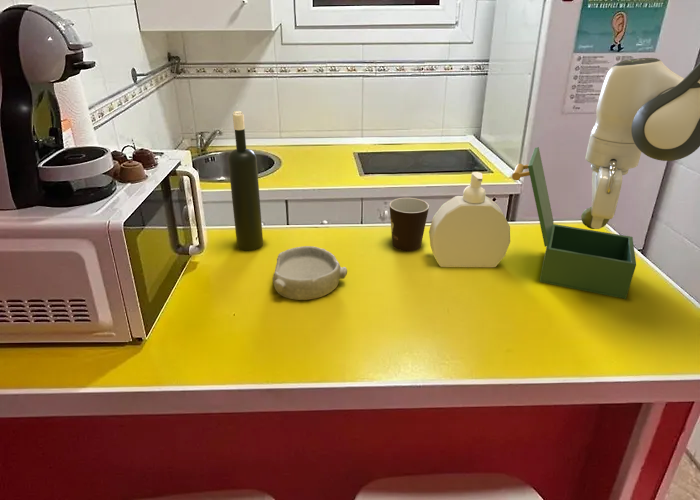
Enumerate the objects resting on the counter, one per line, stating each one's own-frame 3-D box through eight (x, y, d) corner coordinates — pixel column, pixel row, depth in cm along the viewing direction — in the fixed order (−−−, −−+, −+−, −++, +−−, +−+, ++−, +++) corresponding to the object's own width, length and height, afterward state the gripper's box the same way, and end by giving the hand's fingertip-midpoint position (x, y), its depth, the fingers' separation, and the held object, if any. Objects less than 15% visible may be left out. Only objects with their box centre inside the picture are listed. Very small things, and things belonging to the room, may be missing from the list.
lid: (538, 146, 104) (515, 151, 107) (532, 165, 94) (506, 170, 96) (553, 221, 110) (531, 224, 112) (549, 246, 99) (524, 249, 102)
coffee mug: (420, 257, 112) (423, 215, 108) (382, 250, 115) (384, 209, 110) (432, 236, 122) (436, 196, 117) (397, 230, 125) (399, 191, 120)
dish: (278, 308, 95) (277, 285, 92) (264, 272, 106) (263, 250, 104) (353, 295, 99) (354, 272, 97) (332, 261, 110) (332, 240, 108)
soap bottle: (429, 269, 108) (438, 178, 99) (426, 256, 113) (434, 169, 103) (506, 269, 108) (522, 178, 99) (500, 257, 113) (514, 169, 104)
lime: (575, 226, 102) (580, 202, 100) (593, 222, 104) (599, 199, 102) (592, 235, 99) (599, 211, 96) (611, 231, 100) (618, 207, 98)
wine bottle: (232, 249, 115) (217, 113, 101) (246, 239, 120) (233, 107, 106) (254, 254, 113) (242, 116, 99) (268, 243, 118) (258, 110, 104)
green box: (622, 270, 108) (632, 236, 105) (625, 300, 98) (636, 264, 94) (544, 255, 114) (551, 223, 110) (539, 283, 103) (546, 248, 100)
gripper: (636, 172, 84) (614, 247, 91) (629, 140, 101) (612, 206, 107) (594, 167, 86) (576, 241, 93) (594, 136, 103) (579, 201, 110)
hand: (595, 222), depth 100 cm, fingers closed on lime, 3 cm apart
